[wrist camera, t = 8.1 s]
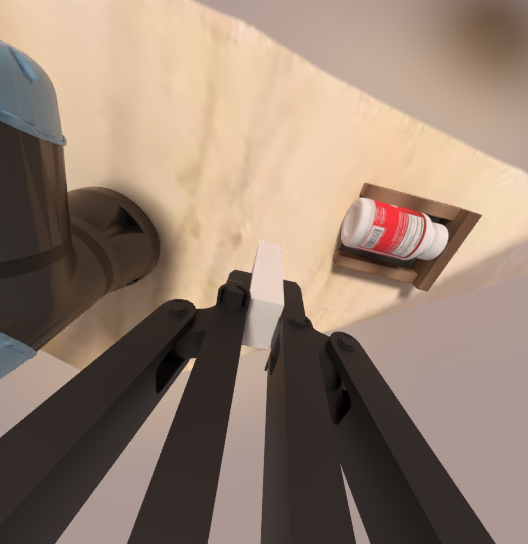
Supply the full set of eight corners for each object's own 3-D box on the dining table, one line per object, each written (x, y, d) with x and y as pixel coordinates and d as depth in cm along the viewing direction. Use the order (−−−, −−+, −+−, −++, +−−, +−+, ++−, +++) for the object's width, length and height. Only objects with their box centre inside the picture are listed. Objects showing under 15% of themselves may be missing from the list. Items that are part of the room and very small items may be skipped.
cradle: (332, 257, 34) (338, 269, 31) (364, 182, 29) (376, 187, 25) (413, 277, 35) (427, 291, 31) (458, 207, 30) (482, 215, 26)
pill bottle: (343, 209, 32) (416, 229, 32) (336, 250, 31) (412, 269, 31) (367, 186, 26) (456, 210, 26) (359, 236, 25) (453, 259, 25)
